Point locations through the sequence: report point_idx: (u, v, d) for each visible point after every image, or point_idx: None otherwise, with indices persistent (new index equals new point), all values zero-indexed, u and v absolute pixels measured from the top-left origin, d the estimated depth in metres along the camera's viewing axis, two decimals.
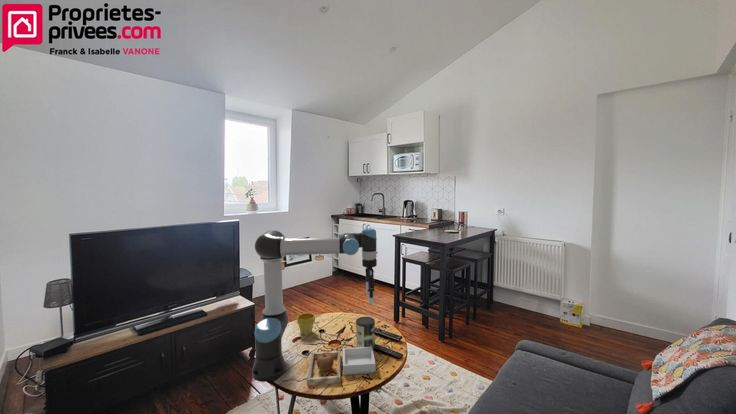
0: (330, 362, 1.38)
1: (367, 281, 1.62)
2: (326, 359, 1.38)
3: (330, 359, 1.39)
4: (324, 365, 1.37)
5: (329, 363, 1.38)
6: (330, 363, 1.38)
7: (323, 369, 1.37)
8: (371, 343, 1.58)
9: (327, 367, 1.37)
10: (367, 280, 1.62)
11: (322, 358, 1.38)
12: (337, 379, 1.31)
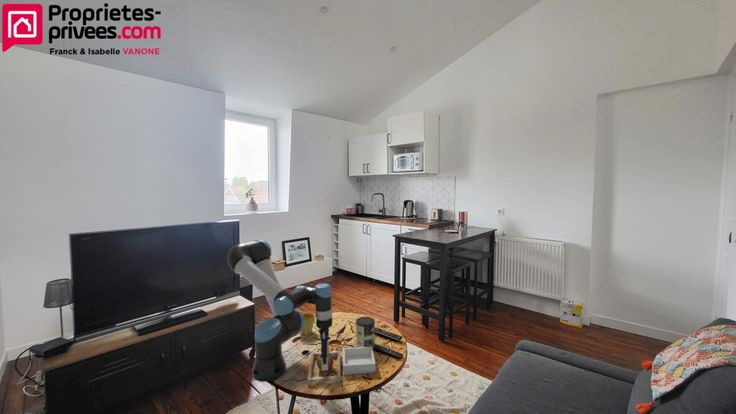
0: (330, 362, 1.38)
1: None
2: None
3: (330, 359, 1.39)
4: None
5: (329, 363, 1.38)
6: (330, 363, 1.38)
7: None
8: (371, 343, 1.58)
9: None
10: None
11: None
12: (337, 379, 1.31)
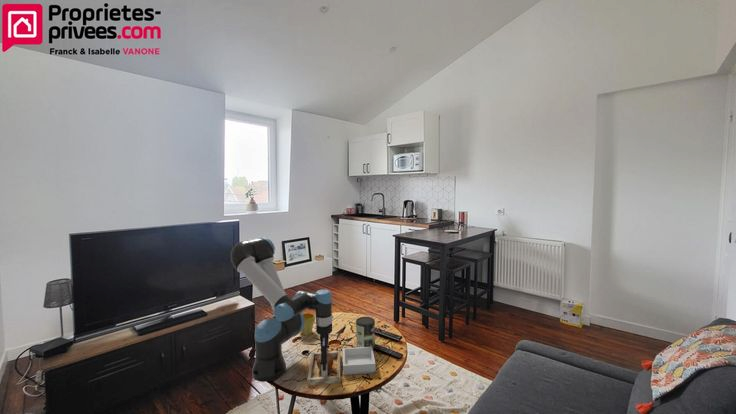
0: (330, 362, 1.38)
1: None
2: None
3: (330, 359, 1.39)
4: None
5: (329, 363, 1.38)
6: (330, 363, 1.38)
7: None
8: (371, 343, 1.58)
9: (327, 367, 1.37)
10: None
11: None
12: (337, 379, 1.31)
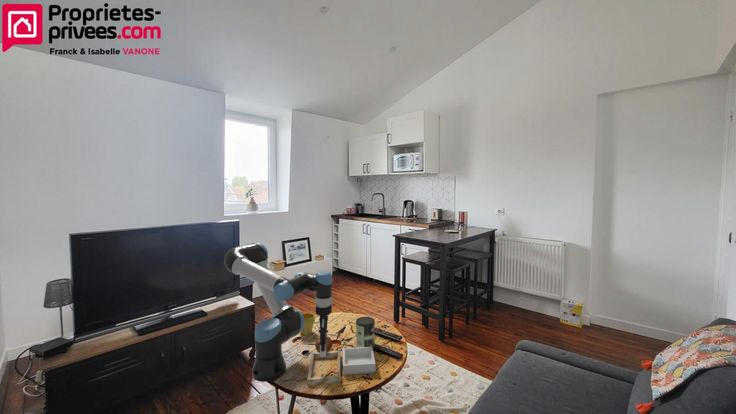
0: (329, 345, 1.38)
1: None
2: None
3: (329, 342, 1.39)
4: None
5: (328, 346, 1.38)
6: (329, 346, 1.38)
7: None
8: (371, 343, 1.58)
9: (326, 350, 1.37)
10: None
11: None
12: (337, 379, 1.31)
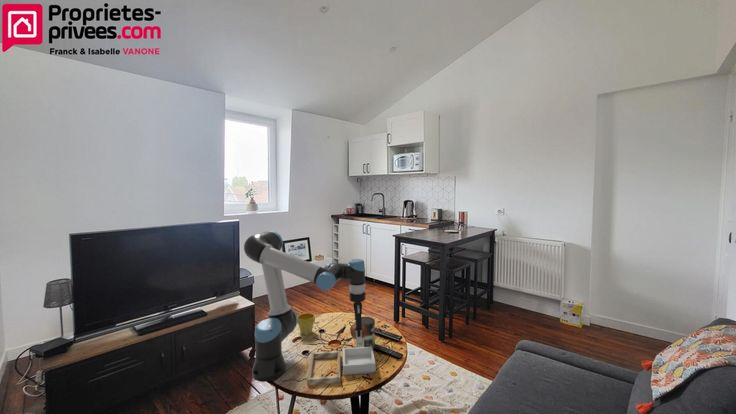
0: (364, 331, 1.41)
1: None
2: None
3: (364, 328, 1.42)
4: None
5: (363, 331, 1.40)
6: (364, 332, 1.41)
7: None
8: (371, 343, 1.58)
9: None
10: None
11: None
12: (337, 379, 1.31)
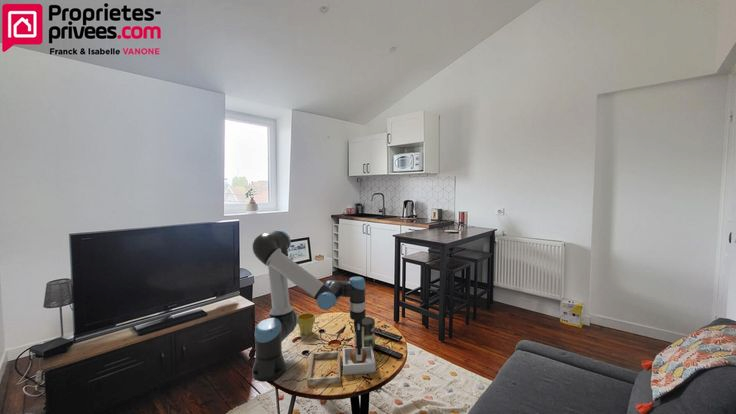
0: (364, 356, 1.42)
1: (356, 331, 1.51)
2: None
3: (364, 353, 1.42)
4: None
5: (363, 357, 1.41)
6: (364, 357, 1.41)
7: (357, 363, 1.41)
8: (371, 343, 1.58)
9: (361, 361, 1.41)
10: None
11: None
12: (337, 379, 1.31)
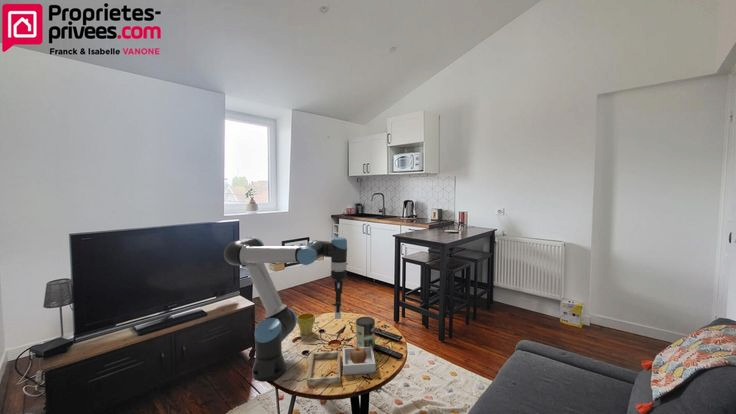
0: (364, 356, 1.42)
1: None
2: (360, 352, 1.42)
3: (364, 353, 1.42)
4: (358, 359, 1.40)
5: (363, 357, 1.41)
6: (364, 357, 1.41)
7: (357, 363, 1.41)
8: (371, 343, 1.58)
9: (361, 361, 1.41)
10: None
11: (356, 352, 1.42)
12: (337, 379, 1.31)
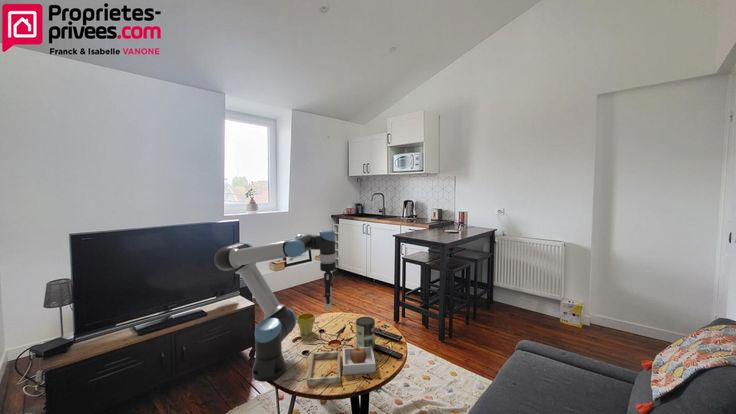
0: (364, 356, 1.42)
1: None
2: (360, 352, 1.42)
3: (364, 353, 1.42)
4: (358, 359, 1.40)
5: (363, 357, 1.41)
6: (364, 357, 1.41)
7: (357, 363, 1.41)
8: (371, 343, 1.58)
9: (361, 361, 1.41)
10: None
11: (356, 352, 1.42)
12: (337, 379, 1.31)
